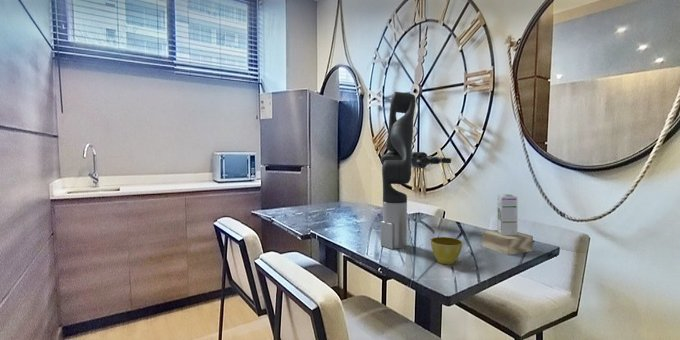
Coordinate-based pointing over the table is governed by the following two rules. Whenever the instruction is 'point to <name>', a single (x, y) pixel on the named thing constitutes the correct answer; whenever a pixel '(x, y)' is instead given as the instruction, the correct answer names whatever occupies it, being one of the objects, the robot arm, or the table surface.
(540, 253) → the table surface
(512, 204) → the syrup box
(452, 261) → the flower pot
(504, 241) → the birch block
